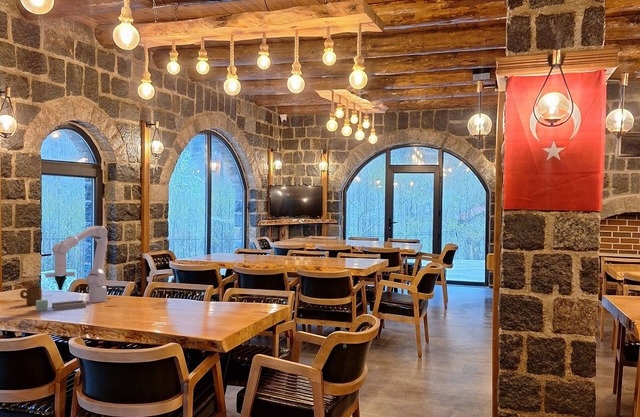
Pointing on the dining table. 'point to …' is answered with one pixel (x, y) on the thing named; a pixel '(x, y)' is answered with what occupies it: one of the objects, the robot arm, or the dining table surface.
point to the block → (41, 305)
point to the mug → (32, 295)
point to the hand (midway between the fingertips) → (60, 289)
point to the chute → (68, 305)
